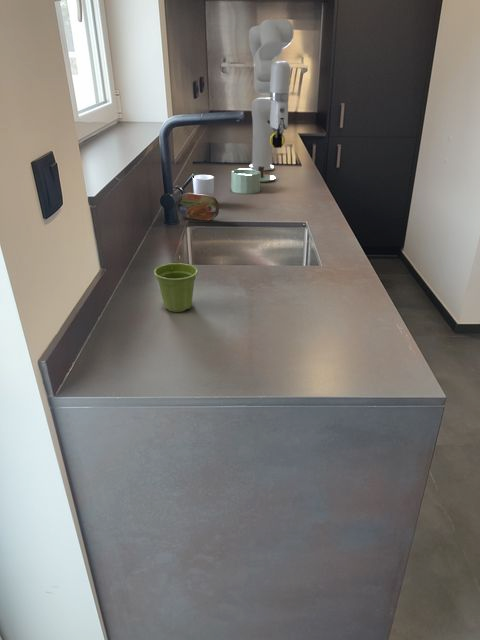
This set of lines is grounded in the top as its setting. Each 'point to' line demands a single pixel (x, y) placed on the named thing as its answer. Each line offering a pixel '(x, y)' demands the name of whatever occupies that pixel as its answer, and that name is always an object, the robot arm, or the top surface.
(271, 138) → the gold ring
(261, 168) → the lid
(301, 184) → the top surface
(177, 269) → the plant pot
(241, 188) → the crock
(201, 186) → the white cup
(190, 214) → the tin
